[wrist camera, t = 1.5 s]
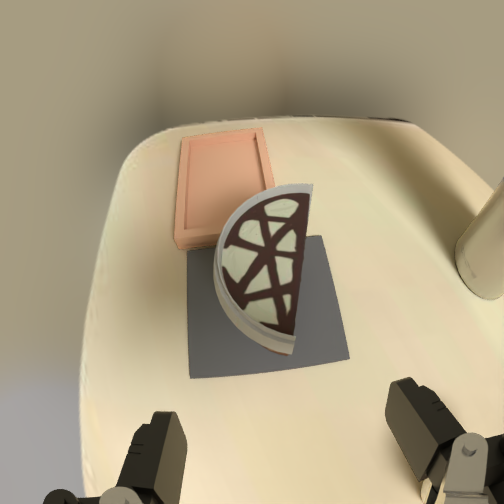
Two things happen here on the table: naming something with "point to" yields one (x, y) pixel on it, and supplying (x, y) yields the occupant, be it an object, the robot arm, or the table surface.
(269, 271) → the food container
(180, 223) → the dish
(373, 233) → the table surface
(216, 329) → the mat
